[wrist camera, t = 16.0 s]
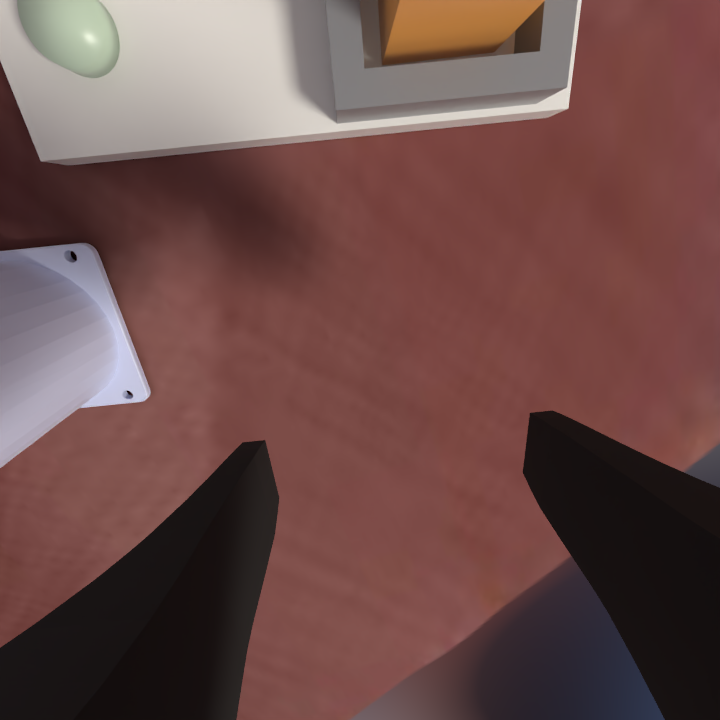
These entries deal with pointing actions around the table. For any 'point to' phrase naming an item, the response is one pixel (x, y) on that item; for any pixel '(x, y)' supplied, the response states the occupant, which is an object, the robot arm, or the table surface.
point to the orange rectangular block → (447, 27)
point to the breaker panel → (256, 75)
